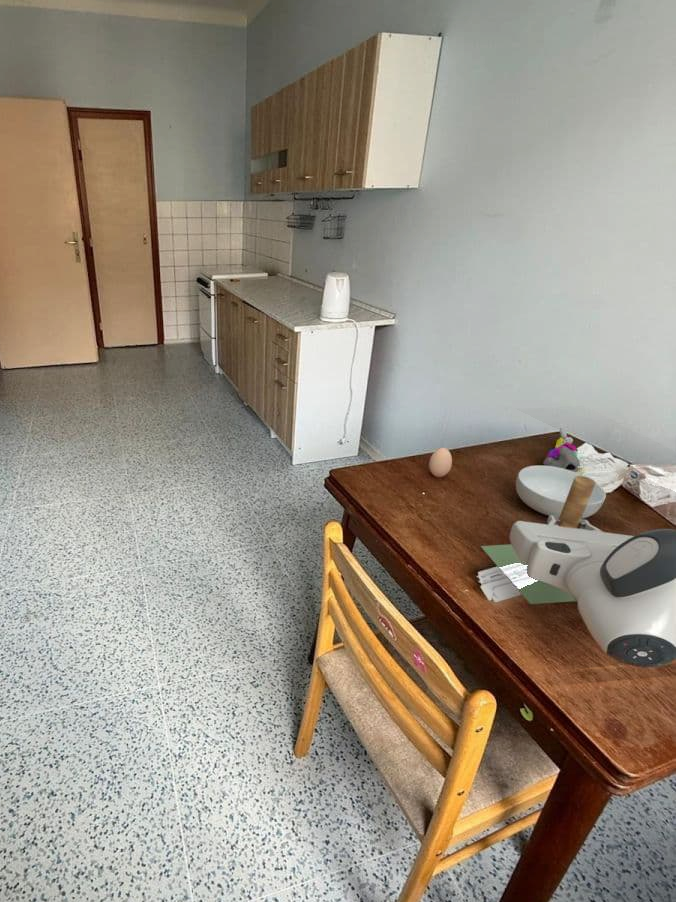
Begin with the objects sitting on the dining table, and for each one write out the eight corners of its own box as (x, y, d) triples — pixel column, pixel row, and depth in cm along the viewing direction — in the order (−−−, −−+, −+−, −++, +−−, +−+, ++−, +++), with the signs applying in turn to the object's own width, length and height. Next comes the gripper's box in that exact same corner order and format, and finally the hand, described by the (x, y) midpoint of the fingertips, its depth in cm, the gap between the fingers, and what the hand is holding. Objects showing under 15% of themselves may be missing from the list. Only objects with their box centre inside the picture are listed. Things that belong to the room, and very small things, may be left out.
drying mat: (562, 543, 98) (563, 540, 98) (625, 599, 84) (626, 597, 84) (479, 548, 97) (480, 546, 97) (529, 606, 83) (530, 603, 83)
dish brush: (553, 559, 92) (588, 470, 83) (576, 580, 87) (616, 488, 77) (524, 561, 92) (555, 472, 82) (544, 582, 86) (581, 490, 77)
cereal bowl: (548, 535, 101) (558, 508, 97) (494, 494, 115) (501, 469, 112) (614, 524, 104) (626, 498, 100) (553, 486, 118) (562, 461, 115)
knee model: (562, 460, 139) (571, 490, 119) (536, 444, 141) (541, 471, 121) (587, 436, 134) (601, 463, 114) (560, 420, 136) (569, 444, 116)
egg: (435, 469, 126) (441, 441, 122) (452, 477, 122) (459, 449, 118) (422, 474, 124) (428, 446, 120) (439, 483, 120) (446, 454, 116)
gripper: (685, 567, 69) (641, 514, 81) (528, 544, 74) (508, 498, 86) (667, 599, 72) (627, 543, 84) (517, 575, 77) (499, 526, 89)
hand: (566, 520), depth 85 cm, fingers closed on dish brush, 3 cm apart
